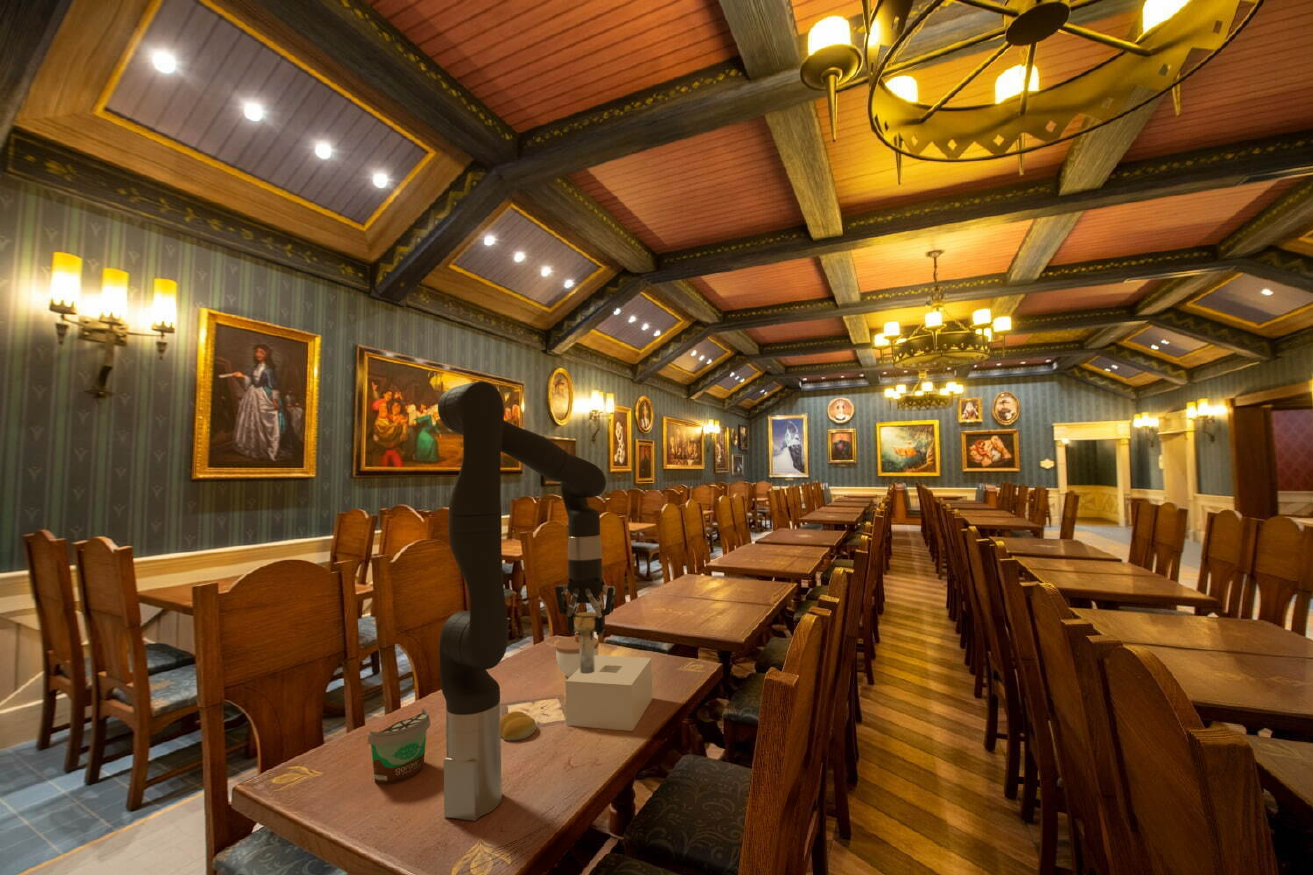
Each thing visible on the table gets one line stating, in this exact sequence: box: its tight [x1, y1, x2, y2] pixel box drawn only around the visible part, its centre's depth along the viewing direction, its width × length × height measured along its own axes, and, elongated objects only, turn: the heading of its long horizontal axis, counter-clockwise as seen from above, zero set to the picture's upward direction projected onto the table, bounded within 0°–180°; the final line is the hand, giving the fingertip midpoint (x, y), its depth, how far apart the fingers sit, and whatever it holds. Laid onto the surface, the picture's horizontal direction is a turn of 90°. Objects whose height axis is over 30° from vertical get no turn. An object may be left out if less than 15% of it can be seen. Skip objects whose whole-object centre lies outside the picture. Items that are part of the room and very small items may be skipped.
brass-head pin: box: [573, 611, 597, 674], centre depth 119 cm, size 6×6×12 cm
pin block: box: [565, 654, 654, 732], centre depth 132 cm, size 18×16×10 cm
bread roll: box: [500, 710, 537, 742], centre depth 123 cm, size 8×9×4 cm
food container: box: [367, 708, 432, 785], centre depth 107 cm, size 12×6×10 cm, turn 148°
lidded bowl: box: [554, 634, 600, 679], centre depth 158 cm, size 13×13×11 cm
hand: (586, 633), depth 119 cm, fingers closed on brass-head pin, 5 cm apart
